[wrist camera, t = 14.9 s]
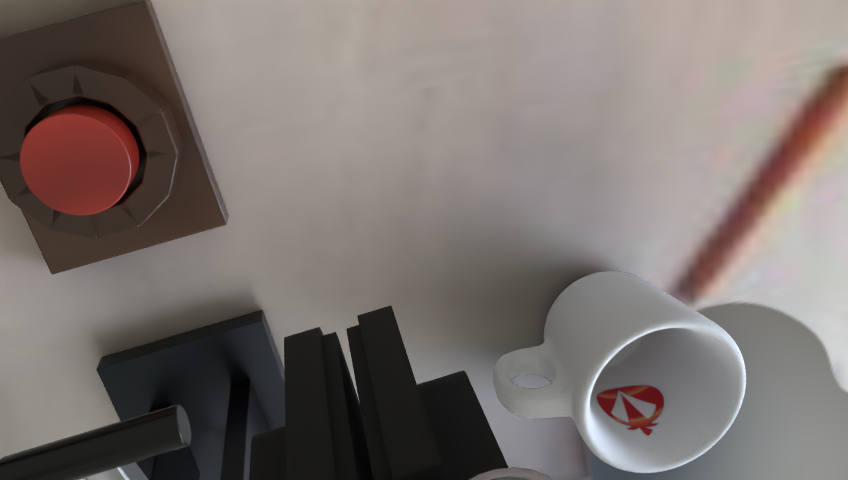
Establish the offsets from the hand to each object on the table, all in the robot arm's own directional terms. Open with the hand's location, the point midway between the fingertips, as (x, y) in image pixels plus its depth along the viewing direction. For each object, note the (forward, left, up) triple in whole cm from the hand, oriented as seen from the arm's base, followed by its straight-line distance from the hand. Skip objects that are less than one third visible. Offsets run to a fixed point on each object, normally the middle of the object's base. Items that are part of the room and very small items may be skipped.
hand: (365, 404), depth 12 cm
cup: (+15, +10, -25) cm, 31 cm away
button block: (-1, -9, -25) cm, 27 cm away
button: (-1, -9, -22) cm, 24 cm away
